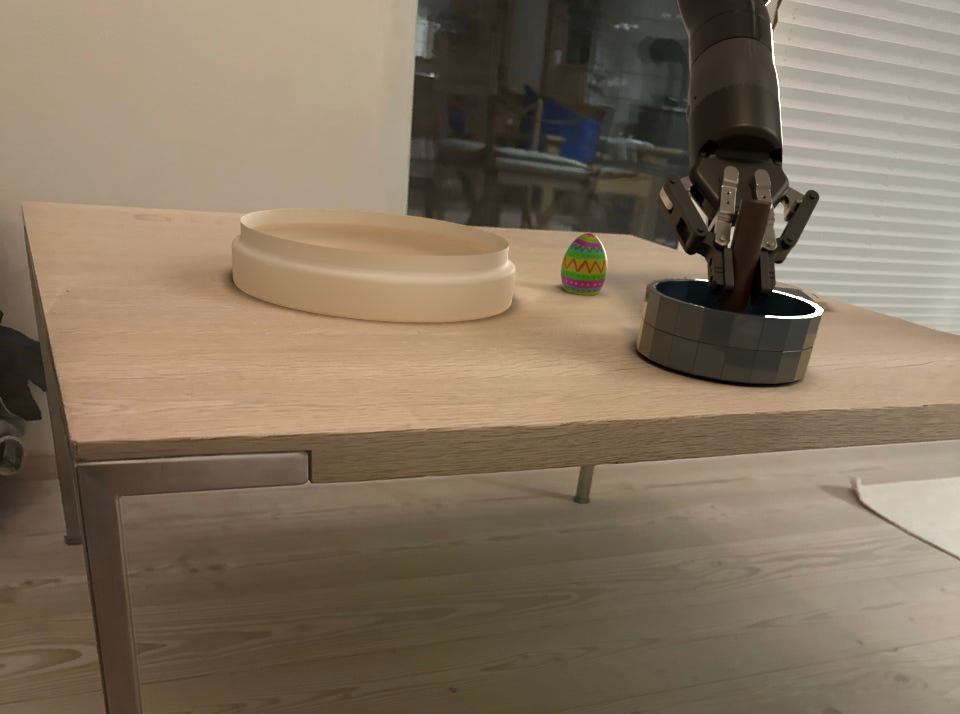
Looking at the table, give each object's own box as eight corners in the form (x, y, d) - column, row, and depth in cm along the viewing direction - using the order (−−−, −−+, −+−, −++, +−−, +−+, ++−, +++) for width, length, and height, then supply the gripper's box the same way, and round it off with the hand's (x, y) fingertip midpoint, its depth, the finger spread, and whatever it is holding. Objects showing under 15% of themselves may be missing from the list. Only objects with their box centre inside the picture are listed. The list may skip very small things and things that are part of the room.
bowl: (752, 345, 86) (767, 283, 83) (837, 391, 74) (858, 321, 72) (611, 339, 82) (622, 274, 80) (678, 387, 71) (693, 313, 68)
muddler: (731, 350, 80) (767, 199, 74) (756, 364, 77) (796, 207, 70) (685, 348, 79) (718, 194, 73) (708, 362, 76) (744, 202, 69)
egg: (612, 296, 100) (621, 236, 97) (585, 299, 97) (594, 238, 94) (576, 286, 103) (584, 228, 100) (549, 290, 99) (556, 230, 96)
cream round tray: (554, 296, 96) (562, 240, 93) (424, 341, 75) (428, 270, 72) (340, 253, 106) (341, 201, 103) (170, 282, 85) (166, 217, 82)
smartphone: (682, 283, 111) (684, 275, 110) (810, 298, 111) (812, 289, 110) (691, 295, 104) (693, 286, 104) (826, 310, 105) (829, 302, 104)
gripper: (667, 70, 73) (673, 261, 69) (833, 90, 75) (849, 278, 71) (640, 141, 80) (644, 317, 76) (792, 158, 82) (803, 332, 78)
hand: (742, 297), depth 74 cm, fingers closed on muddler, 2 cm apart
